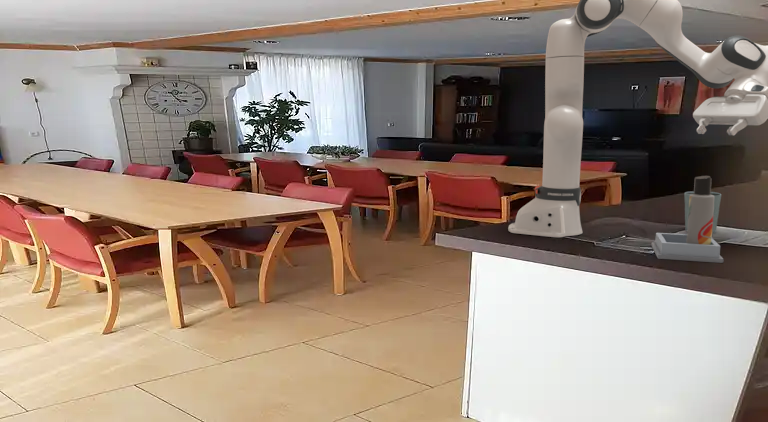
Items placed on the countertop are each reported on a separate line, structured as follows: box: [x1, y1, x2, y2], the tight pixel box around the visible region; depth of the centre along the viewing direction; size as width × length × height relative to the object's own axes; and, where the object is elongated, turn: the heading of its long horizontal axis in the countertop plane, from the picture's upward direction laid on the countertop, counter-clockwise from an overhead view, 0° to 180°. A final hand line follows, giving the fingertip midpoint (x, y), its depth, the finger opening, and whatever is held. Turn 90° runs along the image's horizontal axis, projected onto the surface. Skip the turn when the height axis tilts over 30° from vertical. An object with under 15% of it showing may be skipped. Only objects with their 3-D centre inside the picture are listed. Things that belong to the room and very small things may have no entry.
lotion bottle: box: [686, 175, 714, 245], centre depth 155 cm, size 6×6×20 cm
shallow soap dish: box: [651, 232, 724, 264], centre depth 160 cm, size 15×15×4 cm
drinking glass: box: [683, 190, 722, 235], centre depth 188 cm, size 10×10×12 cm
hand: (714, 133), depth 163 cm, fingers open, 8 cm apart
